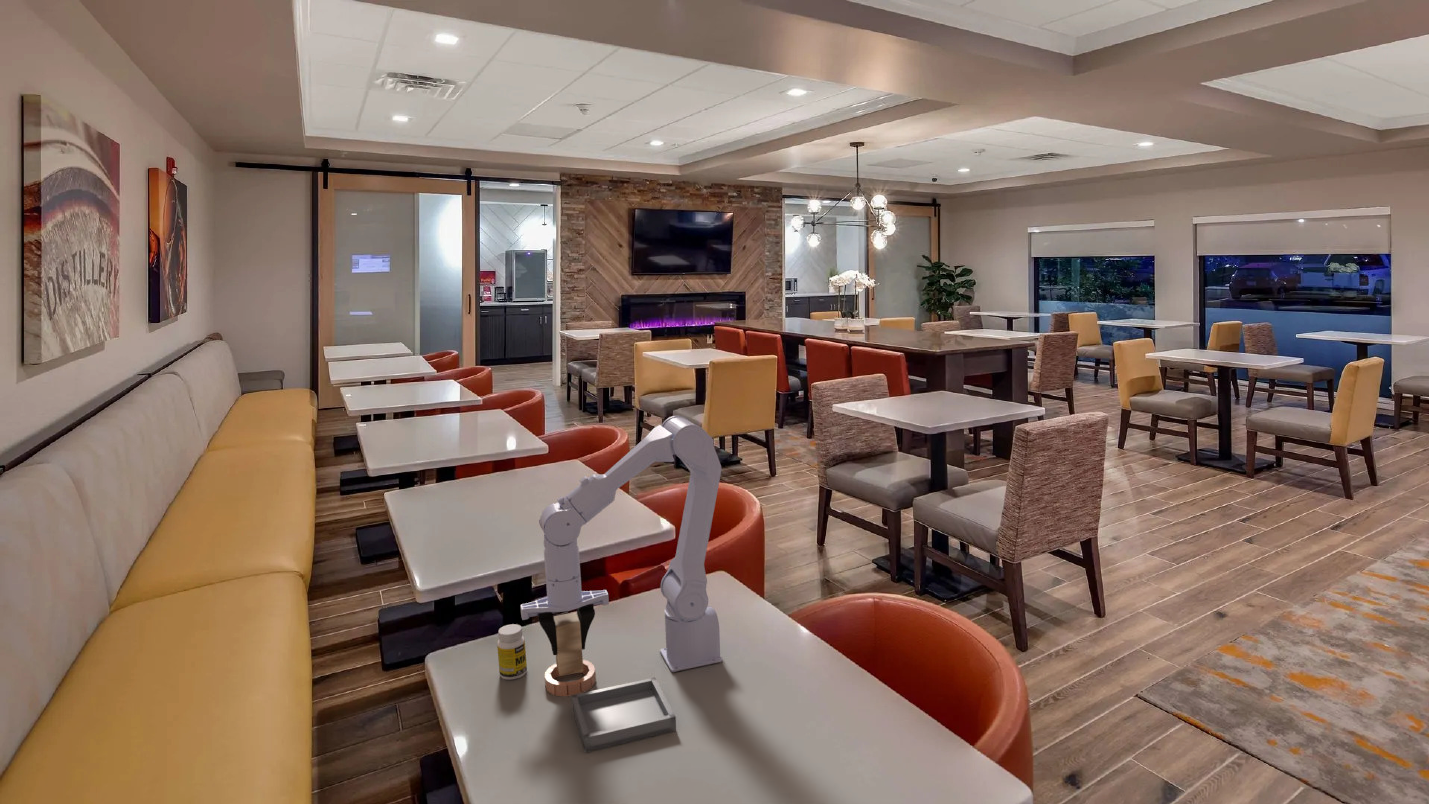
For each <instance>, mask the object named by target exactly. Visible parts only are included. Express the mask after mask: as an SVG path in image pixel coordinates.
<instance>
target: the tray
mask: <svg viewBox="0 0 1429 804" xmlns="http://www.w3.org/2000/svg"><path fill="white" fill-rule="evenodd" d="M570 697H571V709H572V712H573V716H574V718H575V722H576V726H577V728H578V729H577V730H578V733H579V736H580V740H581V742H582V746H583V749H584V753H590V752H594V751H598V750H599V751H600V750H603V749H607V748H610V747H611V748H612V747H614V746H615V747H616V746H619V745H623V744H626V743H627V744H628V743H632V742H635V741H639V740H643V739H647V738H652V737H656V736H660V735H664V734H669V733H673V732H676V731H677V719H676V715H675V713H674V710H673V709H672V707H671V705H670V703H669V701H668V699H667V696H666V695H665V693H664V692H663V690H662V688H661V685H660V684H659V682H658V680H657V679H656V677H651V678H650V677H649V678H645V679H640V680H636V681H632V682H631V681H630V682H626V683H622V684H618V685H612V686H608V687H603V688H599V689H598V688H597V689H595V690H591V691H590V690H588V691H585V692H584V693H580V694H575V695H571V696H570Z"/></svg>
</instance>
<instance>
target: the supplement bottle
mask: <svg viewBox="0 0 1429 804" xmlns="http://www.w3.org/2000/svg"><path fill="white" fill-rule="evenodd" d="M522 628H523V627H522V626H521V625H520V624H518V623H516V624H514V623H512V624H506V625H503V626H502V627H500V628H499V629H498V641H497V643H496V646H497V647H496V648H497V658H498V669H499V671H498V672H499V676H500V678H501V679H503V680H517V679H520V678H522V677H523V676H525V674H526V673H527V670H528V666H527V665H528V664H527V654H526V653H527V652H526V640H525V638H524V636H523V629H522Z"/></svg>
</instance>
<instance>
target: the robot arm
mask: <svg viewBox="0 0 1429 804" xmlns="http://www.w3.org/2000/svg"><path fill="white" fill-rule="evenodd" d="M714 444H715V443H714V439H713V438H712V437H711V435H710V434H709V433H708V432H707V431H706V430H705V429H704V428H703V427H702V426H699V425H697V424H695V423H693V422H692V421H690V420H689V419H688V418H686V417H684V416H681V415H672V416H669V417H668V418H667V419H665V420H664V421H663V422H662V424H658V425H657V426H655V427H654V428H653V429H652V430H650V432H649V433H648V434H647V435H646V436H645V437H644V438H643V439H642V440H641V441H640V442H639V443H637V444H636V445H635V446H634V447H633V448H632V449H631V450H630V451H629V452H627V454H624V456H622V457H621V459H619V460H618V461H617V462H616V463H615V464H613V466H612V467H610V468H609V469H608V470H607V471H606V472H605V473H604V474H597V473H594V474H591V475H590V476H589V477H588V476H587V475H585V476H583V477H581V479H579V482H580V484H579V485H578V486H576V487H575V488H574V489H572V490H571V491H570V492H569V493H567V494H566V496H559V498H557V502H556V503H554V502H553V503H552V504H549V505H547V506H545V508H544V509H543V510H542V512H541V515H540V519H539V520H538V522H539V523H538V524H539V526H540V528H541V530H542V531H543V534H544V535H543V546H544V549H543V557H544V571H545V583H546V585H545V587H546V597H545V596H544V597H543V598H540V599H536V600H534V601H531V602H528V603H527V602H526V603H522V604H520V615H521V616H520V617H521V619H522V621H525V620H528V619H530V618H531V617H533V618H534V617H537V619H538V622H539V625H540V627H541V629H543V631H544V633H545V634H546V636H547V638H548V641H549V642H550V646H551V652H552V655H553V656H556V655H558V654H557V644H556V635H555V621H554V614H555V613H559V612H561V613H562V612H563V613H564V612H570V611H573V610H576V613H577V616H578V618H579V621H580V629H581V643H582V651H583V650H585V649H586V641H587V638H588V637H587V636H588V634H589V629H590V627H591V624H592V623H593V620H594V618H595V616H596V611H595V608H594V606H599V605H602V606H608V605H609V604H610V602H609V600H610V599H609V593H608V591H607V589H603V590H589V591H588V590H586V591H585V590H582V577H581V576H582V575H581V562H580V549H579V546H578V538H579V536H580V534H581V529H582V527H583V526H585V525H586V524H587V523H588V522H590V521H591V520H592V519H594V518H595V517H596V516H597V515H598V514H600V513H601V512H602V511H603V510H604V509H606V508H607V507H609V505H611V504H612V503H614V501H615V498H616V493H617V490H619V488H621V487H623V485H625V484H626V483H628V482H629V481H631V480H632V479H634V478H635V477H636V476H638V474H640V473H641V472H643V471H644V470H645V469H647V468H648V467H649V466H651V465H652V464H653V463H673V462H675V459H674V455H676V457H678V458H679V459H680V461H682V463H683V464H684V465H685V467H686V468H687V470H688V471H689V473H690V475H689V481H688V486H687V491H686V498H685V501H684V508H683V513H682V517H681V519H682V520H681V523H680V524H681V525H680V529H679V535H678V539H677V546H676V551H675V552H676V553H675V557H674V558H672V559H671V560H670V561H669V565H668V569H667V571H666V573H665V574H664V576H662V578H661V582H660V591H661V594H662V596H663V597H664V598H665V599H666V605H665V608H664V621H665V622H664V627H665V646H666V647H665V648H663V647H662V648H660V649H659V653H660V655H661V656H662V658H663V660H664V661H665V663H666V665H667V667H668V668H669V670H670V672H671V673H674V672H680V671H685V670H689V669H693V668H698V667H704V666H709V665H712V664H716V663H721V662H722V661H723V659H722V657H721V640H720V639H721V637H720V632H721V631H720V623H719V618H718V615H717V612H716V610H715V608H714V607H713V606H709V596H708V593H707V585H708V579H707V573H706V569H705V560H706V556H707V555H706V554H707V549H708V544H709V539H710V534H711V529H712V522H713V517H714V512H715V507H716V501H717V496H718V490H719V485H720V481H721V480H720V479H721V475H722V465H721V463H720V459H719V456H718V454H717V451H716V449H715V446H714Z"/></svg>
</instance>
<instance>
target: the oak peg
mask: <svg viewBox="0 0 1429 804" xmlns="http://www.w3.org/2000/svg"><path fill="white" fill-rule="evenodd" d="M553 616H554V615H553ZM554 621H555V635H556V644H557V654H558V655H555V664H556V665H557V668H558V672H559V675H560V676H559V677H562V676H567V675H572V674H577V673H578V672H583V660H584V658H583V650H582V643H581V629H580V621H579V618H578V616H577V611H575V612H571V613H565V614H559V615H555V616H554ZM578 674H579V673H578Z"/></svg>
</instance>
